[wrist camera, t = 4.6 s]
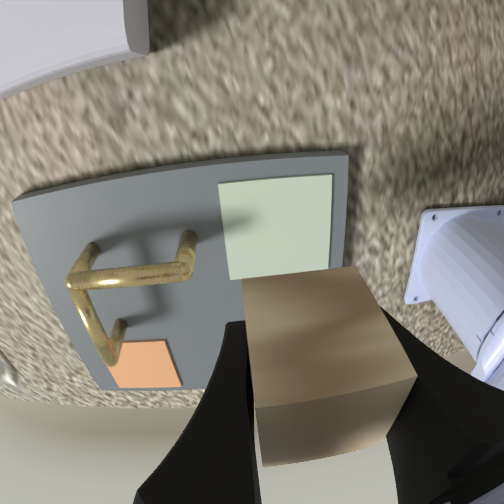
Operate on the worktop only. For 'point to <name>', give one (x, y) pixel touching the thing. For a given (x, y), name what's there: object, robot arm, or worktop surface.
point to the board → (165, 247)
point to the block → (321, 364)
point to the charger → (66, 38)
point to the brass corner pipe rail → (120, 277)
